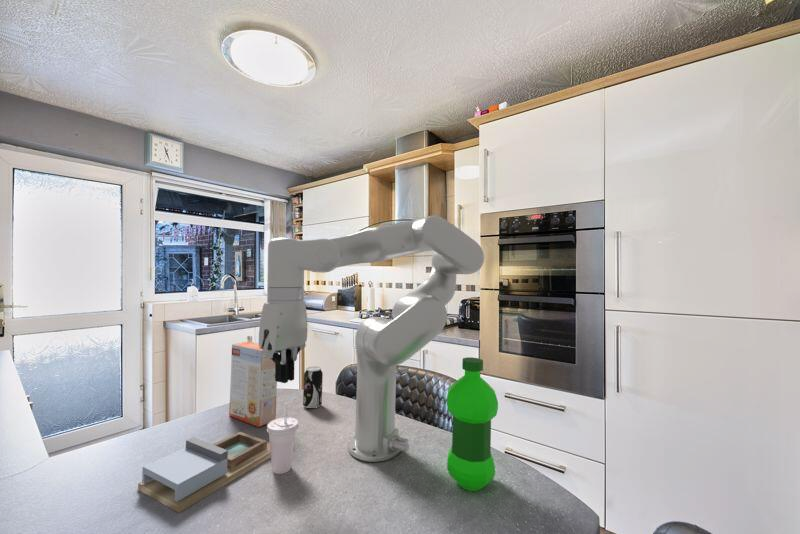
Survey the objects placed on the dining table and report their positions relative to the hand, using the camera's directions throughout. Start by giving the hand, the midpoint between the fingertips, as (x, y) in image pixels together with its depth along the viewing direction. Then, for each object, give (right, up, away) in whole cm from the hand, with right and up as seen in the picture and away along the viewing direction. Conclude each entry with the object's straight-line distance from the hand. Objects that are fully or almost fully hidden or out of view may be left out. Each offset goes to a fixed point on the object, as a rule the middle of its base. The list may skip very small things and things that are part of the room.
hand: (284, 380), depth 72 cm
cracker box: (-17, -19, +24) cm, 35 cm away
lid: (-17, -17, -7) cm, 25 cm away
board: (-14, -18, -1) cm, 23 cm away
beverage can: (-3, -20, +33) cm, 38 cm away
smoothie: (0, -19, -1) cm, 19 cm away
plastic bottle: (+39, -20, -4) cm, 44 cm away
